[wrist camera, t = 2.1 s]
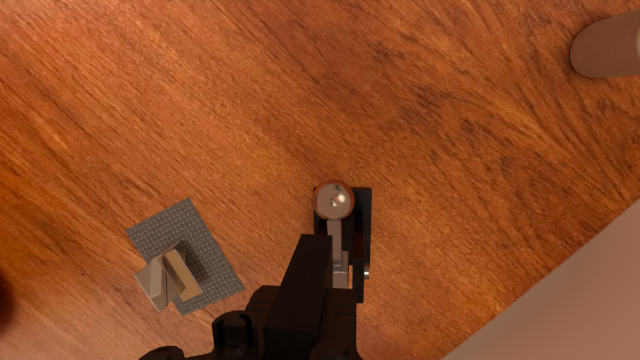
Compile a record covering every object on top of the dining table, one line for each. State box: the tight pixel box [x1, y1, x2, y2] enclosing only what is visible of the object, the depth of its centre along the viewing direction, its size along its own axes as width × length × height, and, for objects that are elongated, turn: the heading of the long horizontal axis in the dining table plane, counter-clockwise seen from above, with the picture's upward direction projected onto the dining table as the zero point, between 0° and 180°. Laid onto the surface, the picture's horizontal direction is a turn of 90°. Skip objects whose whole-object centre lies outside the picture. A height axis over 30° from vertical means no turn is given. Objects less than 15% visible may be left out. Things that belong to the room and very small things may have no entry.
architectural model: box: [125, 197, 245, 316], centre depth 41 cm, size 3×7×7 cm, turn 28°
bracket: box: [313, 187, 372, 303], centre depth 35 cm, size 10×7×13 cm
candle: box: [570, 8, 640, 78], centre depth 28 cm, size 6×6×10 cm
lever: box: [312, 179, 354, 289], centre depth 27 cm, size 12×3×3 cm, turn 1°
